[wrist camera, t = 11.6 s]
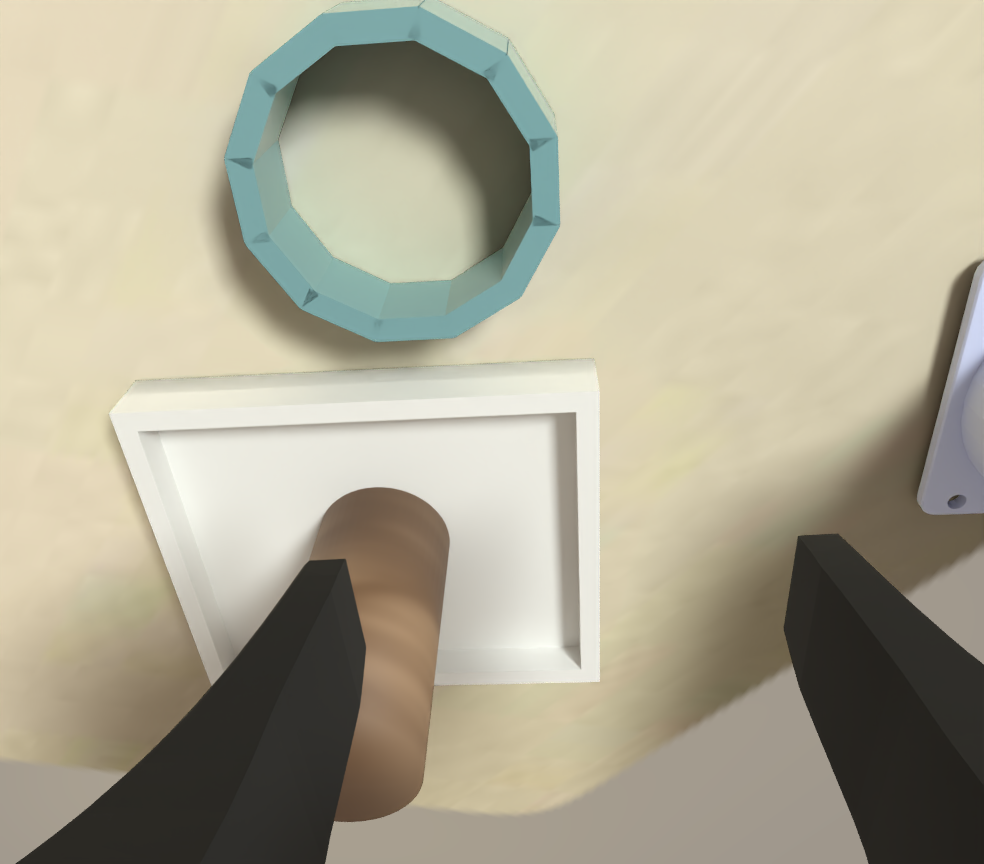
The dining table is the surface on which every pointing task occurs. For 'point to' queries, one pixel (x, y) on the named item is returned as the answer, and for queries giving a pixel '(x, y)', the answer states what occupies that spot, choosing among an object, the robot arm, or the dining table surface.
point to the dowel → (389, 638)
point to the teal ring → (295, 248)
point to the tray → (392, 464)
